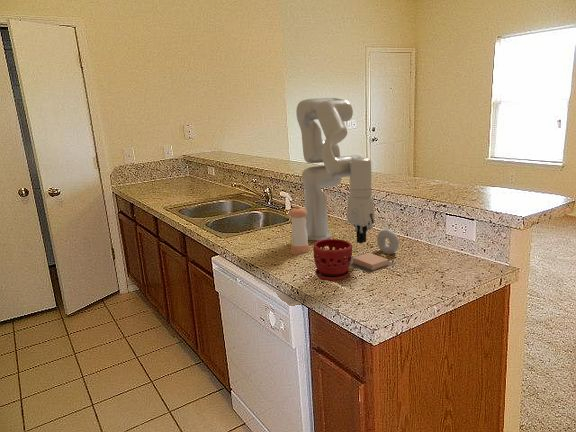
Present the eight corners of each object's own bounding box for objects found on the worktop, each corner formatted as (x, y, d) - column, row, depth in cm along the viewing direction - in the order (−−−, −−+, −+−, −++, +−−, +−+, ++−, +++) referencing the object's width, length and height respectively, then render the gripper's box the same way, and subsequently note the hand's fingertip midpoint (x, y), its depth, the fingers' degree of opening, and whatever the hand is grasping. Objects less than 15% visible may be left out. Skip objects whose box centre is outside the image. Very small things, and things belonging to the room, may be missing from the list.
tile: (352, 257, 161) (372, 264, 152) (368, 252, 165) (388, 259, 157) (352, 263, 161) (372, 270, 153) (368, 258, 165) (388, 265, 157)
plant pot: (332, 287, 143) (330, 252, 140) (306, 276, 153) (305, 243, 150) (360, 277, 150) (360, 243, 147) (334, 267, 161) (333, 235, 158)
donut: (375, 252, 174) (374, 227, 171) (381, 250, 176) (381, 225, 173) (394, 258, 166) (394, 232, 163) (400, 256, 168) (401, 231, 165)
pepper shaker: (307, 255, 174) (305, 208, 170) (289, 255, 176) (287, 208, 171) (310, 249, 181) (308, 204, 176) (293, 249, 183) (290, 204, 178)
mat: (338, 263, 164) (338, 261, 164) (364, 255, 171) (364, 253, 171) (368, 275, 151) (368, 273, 151) (395, 266, 158) (395, 264, 158)
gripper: (339, 191, 161) (340, 239, 165) (367, 197, 148) (368, 249, 153) (354, 188, 165) (355, 235, 169) (383, 194, 152) (383, 244, 157)
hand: (361, 242), depth 161 cm, fingers closed
